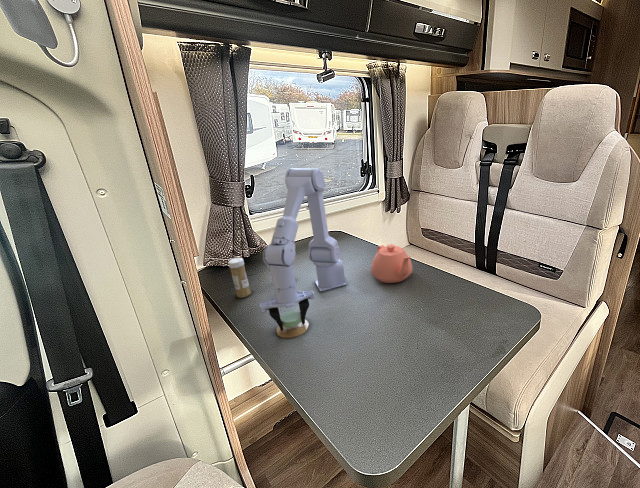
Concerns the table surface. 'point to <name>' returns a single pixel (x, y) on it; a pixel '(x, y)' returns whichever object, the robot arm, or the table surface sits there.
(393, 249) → the teapot
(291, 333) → the coaster
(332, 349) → the table surface
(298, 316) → the lid
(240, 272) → the sprinkles bottle
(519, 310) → the table surface
